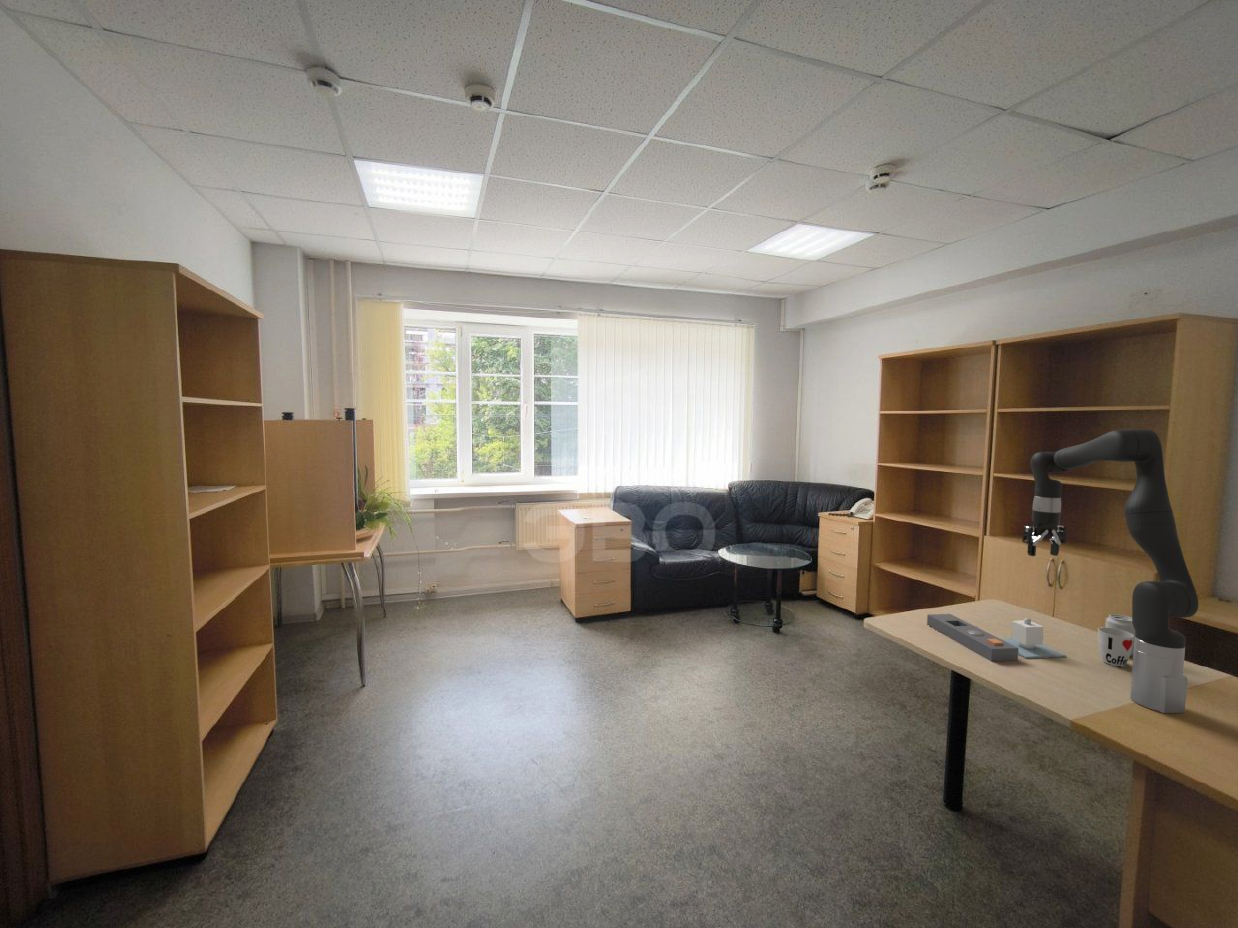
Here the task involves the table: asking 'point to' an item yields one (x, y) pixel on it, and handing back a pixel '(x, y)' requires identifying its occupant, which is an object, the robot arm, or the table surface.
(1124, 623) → the can
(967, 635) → the power strip
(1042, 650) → the mat
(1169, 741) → the table surface
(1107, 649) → the cup
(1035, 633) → the block
